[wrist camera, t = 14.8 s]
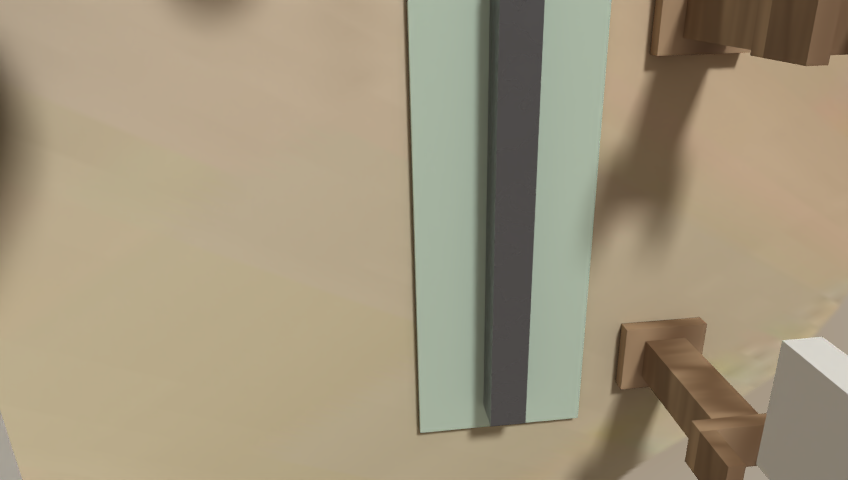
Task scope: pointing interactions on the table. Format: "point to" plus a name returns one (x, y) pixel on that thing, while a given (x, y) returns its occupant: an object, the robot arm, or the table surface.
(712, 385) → the hook stand
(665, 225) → the table surface
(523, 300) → the rail
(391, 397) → the table surface
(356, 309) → the table surface
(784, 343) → the robot arm
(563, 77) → the mat
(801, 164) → the table surface
